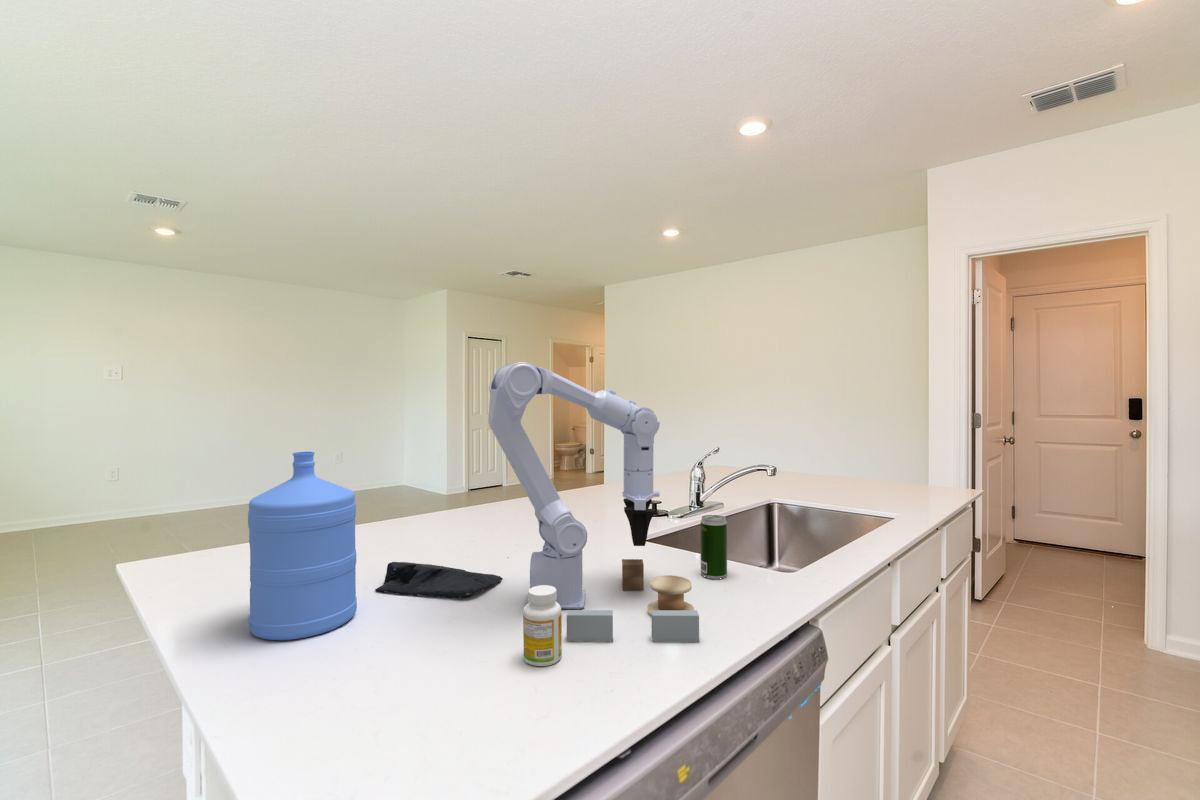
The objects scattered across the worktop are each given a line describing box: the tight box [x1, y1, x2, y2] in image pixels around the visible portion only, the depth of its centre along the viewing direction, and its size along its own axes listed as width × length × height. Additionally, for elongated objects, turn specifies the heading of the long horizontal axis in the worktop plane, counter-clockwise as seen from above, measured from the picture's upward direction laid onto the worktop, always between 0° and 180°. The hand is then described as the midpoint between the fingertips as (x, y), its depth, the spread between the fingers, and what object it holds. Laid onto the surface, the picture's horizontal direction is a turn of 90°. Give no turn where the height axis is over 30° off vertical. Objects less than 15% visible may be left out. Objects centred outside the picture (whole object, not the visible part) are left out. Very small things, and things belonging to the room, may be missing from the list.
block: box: [621, 558, 645, 592], centre depth 104 cm, size 4×4×5 cm
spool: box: [646, 574, 696, 618], centre depth 92 cm, size 8×8×5 cm
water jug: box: [247, 451, 358, 641], centre depth 89 cm, size 16×16×28 cm
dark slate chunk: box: [374, 561, 504, 599], centre depth 106 cm, size 15×22×5 cm
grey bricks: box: [566, 609, 700, 643], centre depth 82 cm, size 20×2×4 cm, turn 89°
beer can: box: [700, 514, 728, 580], centre depth 111 cm, size 5×5×12 cm
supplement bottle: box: [522, 585, 563, 667], centre depth 76 cm, size 5×5×10 cm
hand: (638, 540), depth 103 cm, fingers open, 7 cm apart
